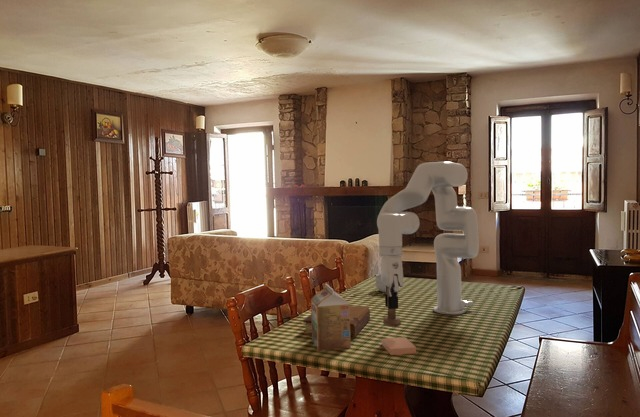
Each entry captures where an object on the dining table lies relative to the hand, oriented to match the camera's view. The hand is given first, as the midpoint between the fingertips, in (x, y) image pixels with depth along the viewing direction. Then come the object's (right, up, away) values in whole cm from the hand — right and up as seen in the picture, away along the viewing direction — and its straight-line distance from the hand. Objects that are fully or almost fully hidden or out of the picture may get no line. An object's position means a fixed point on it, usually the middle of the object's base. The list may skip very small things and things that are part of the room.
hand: (391, 306), depth 153 cm
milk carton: (-20, -13, +1) cm, 24 cm away
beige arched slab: (-17, -12, +19) cm, 28 cm away
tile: (+1, -11, -1) cm, 11 cm away
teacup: (+9, -9, +76) cm, 77 cm away
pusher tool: (0, -6, 0) cm, 6 cm away
